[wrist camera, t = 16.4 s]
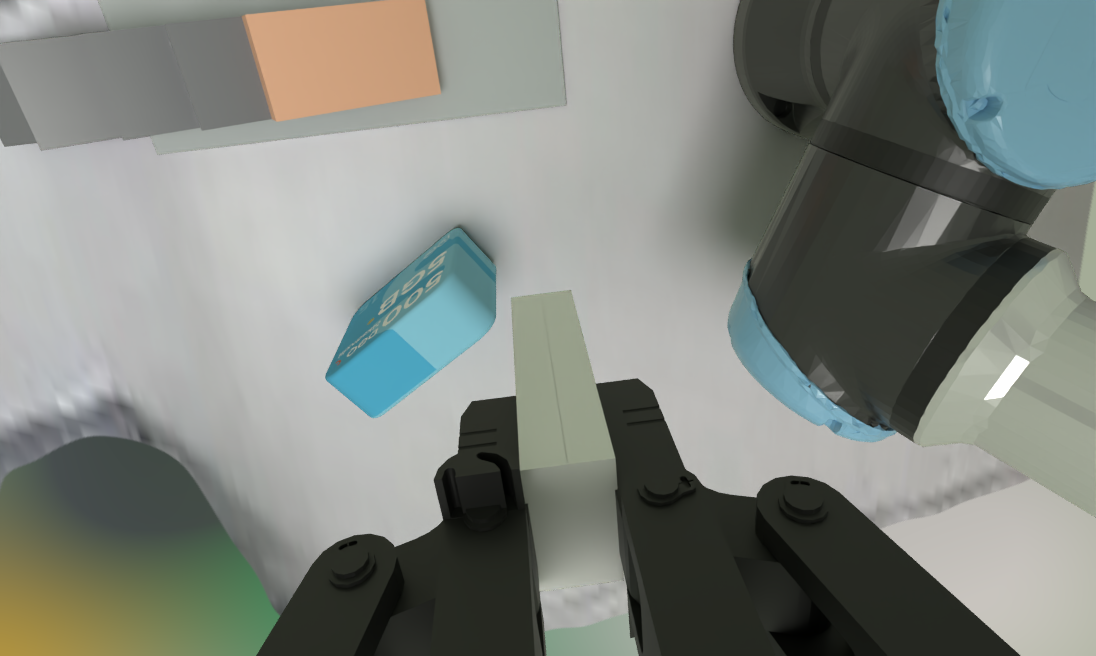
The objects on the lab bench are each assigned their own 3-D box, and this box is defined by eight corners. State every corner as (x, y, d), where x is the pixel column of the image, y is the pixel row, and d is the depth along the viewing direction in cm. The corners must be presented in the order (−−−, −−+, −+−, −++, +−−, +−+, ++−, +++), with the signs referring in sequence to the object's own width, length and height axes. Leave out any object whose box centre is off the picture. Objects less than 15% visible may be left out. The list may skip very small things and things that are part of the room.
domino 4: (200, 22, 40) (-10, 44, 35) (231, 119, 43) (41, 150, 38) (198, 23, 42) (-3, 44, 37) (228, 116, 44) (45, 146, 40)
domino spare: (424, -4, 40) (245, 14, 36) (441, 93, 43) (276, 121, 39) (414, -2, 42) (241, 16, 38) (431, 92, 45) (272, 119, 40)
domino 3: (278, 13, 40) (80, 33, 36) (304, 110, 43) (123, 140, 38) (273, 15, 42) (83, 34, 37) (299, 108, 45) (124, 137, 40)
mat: (548, -88, 41) (549, -89, 40) (565, 104, 46) (566, 105, 46) (87, -35, 40) (84, -35, 40) (160, 153, 46) (157, 154, 45)
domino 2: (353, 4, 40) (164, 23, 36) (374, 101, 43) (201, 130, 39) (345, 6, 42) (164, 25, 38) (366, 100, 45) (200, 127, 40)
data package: (460, 221, 50) (450, 278, 39) (497, 261, 51) (497, 327, 41) (354, 310, 52) (318, 386, 42) (393, 346, 54) (368, 427, 44)
